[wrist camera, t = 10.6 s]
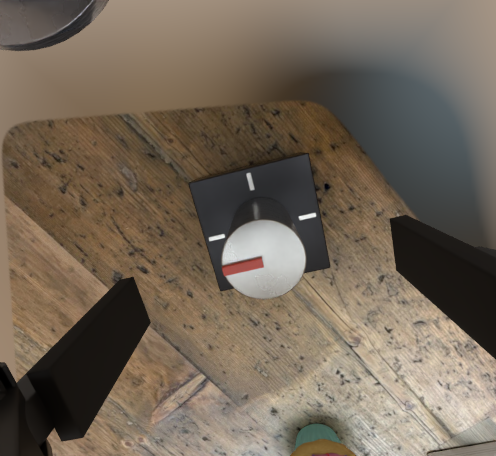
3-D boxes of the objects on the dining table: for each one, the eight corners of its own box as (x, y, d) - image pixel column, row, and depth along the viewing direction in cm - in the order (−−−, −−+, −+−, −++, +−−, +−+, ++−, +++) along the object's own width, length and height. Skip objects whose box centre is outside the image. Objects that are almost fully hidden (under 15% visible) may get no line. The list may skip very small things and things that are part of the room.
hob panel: (197, 178, 28) (187, 183, 24) (301, 152, 28) (309, 152, 24) (224, 273, 31) (219, 292, 27) (321, 252, 30) (331, 268, 26)
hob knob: (284, 190, 25) (297, 211, 16) (296, 247, 26) (315, 292, 18) (225, 205, 25) (210, 232, 17) (240, 260, 26) (233, 310, 18)
